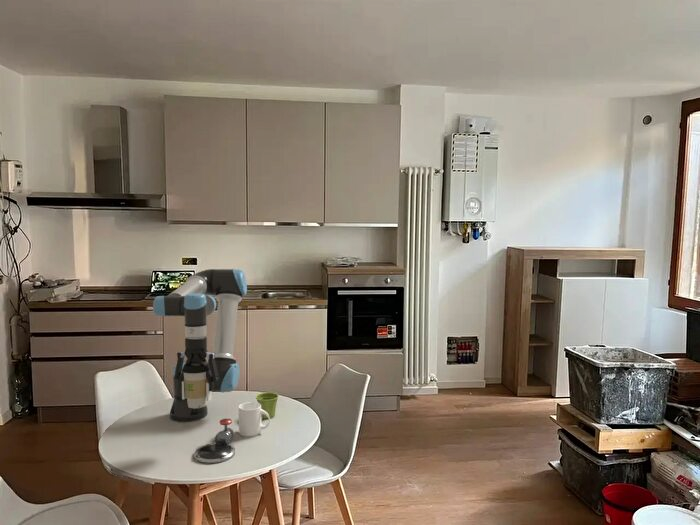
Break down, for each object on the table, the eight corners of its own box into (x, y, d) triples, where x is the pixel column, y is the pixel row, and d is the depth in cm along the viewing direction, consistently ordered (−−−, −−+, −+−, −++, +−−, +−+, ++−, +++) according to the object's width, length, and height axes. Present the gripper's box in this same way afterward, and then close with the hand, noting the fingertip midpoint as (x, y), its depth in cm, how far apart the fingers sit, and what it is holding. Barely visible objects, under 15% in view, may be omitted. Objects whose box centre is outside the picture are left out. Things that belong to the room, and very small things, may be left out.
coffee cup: (186, 401, 197) (186, 361, 196) (213, 400, 197) (213, 361, 196) (179, 410, 187) (178, 368, 186) (207, 409, 188) (206, 368, 187)
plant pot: (264, 410, 230) (264, 391, 229) (283, 414, 226) (282, 394, 225) (251, 418, 221) (251, 398, 221) (270, 422, 217) (270, 401, 217)
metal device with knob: (210, 439, 202) (210, 417, 201) (246, 441, 200) (245, 419, 199) (187, 464, 182) (186, 439, 182) (226, 467, 180) (225, 442, 180)
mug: (267, 437, 202) (267, 410, 201) (236, 436, 203) (235, 409, 202) (272, 428, 211) (271, 402, 210) (242, 427, 212) (241, 401, 211)
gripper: (162, 338, 189) (164, 400, 190) (219, 340, 185) (220, 404, 187) (173, 333, 196) (174, 394, 198) (228, 336, 192) (229, 397, 194)
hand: (197, 398), depth 192 cm, fingers closed on coffee cup, 9 cm apart
